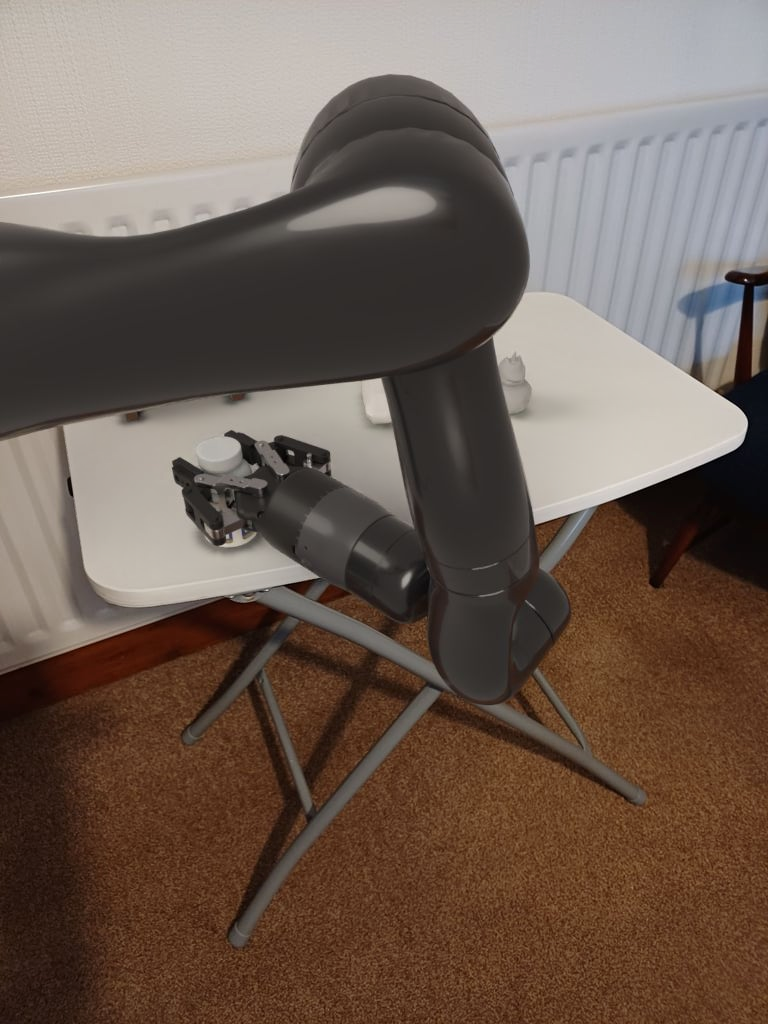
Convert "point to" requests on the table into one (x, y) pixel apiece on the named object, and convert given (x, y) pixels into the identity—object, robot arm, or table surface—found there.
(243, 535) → the pill bottle
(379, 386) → the white flared handle
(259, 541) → the table surface
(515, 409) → the rubber duck
